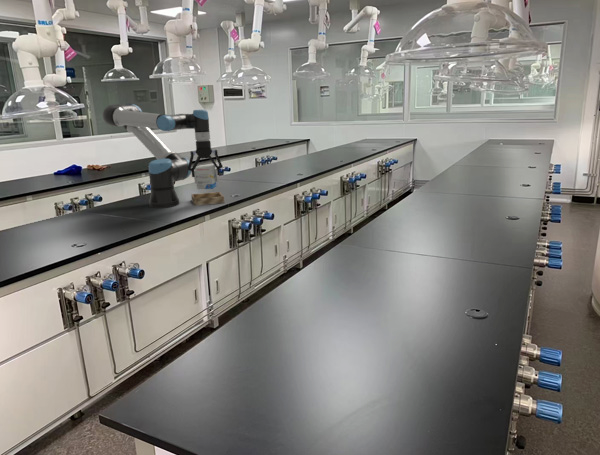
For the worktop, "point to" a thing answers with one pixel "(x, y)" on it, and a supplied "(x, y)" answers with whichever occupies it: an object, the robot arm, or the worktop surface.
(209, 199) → the maple tray
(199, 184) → the ink box
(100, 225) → the worktop surface
